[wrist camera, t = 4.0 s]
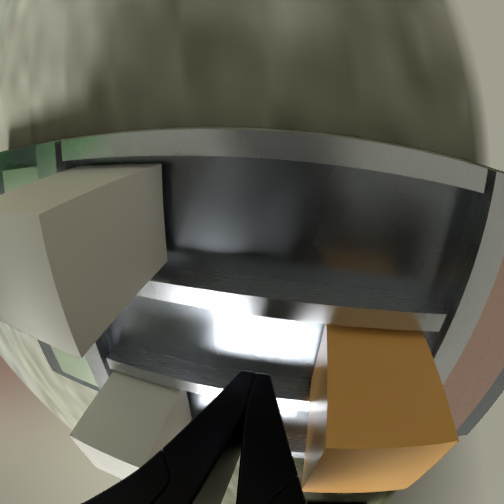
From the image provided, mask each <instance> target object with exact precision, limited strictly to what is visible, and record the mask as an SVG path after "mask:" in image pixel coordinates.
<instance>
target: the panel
mask: <svg viewBox="0 0 504 504" xmlns="http://www.w3.org/2000/svg"><path fill="white" fill-rule="evenodd" d="M113 164H162V190H163V209H164V224H165V237H166V249H167V260H168V261H167V262H166V263H165V264H164V266H163V267H162V268H161V269H160V270H159V271H158V272H157V273H156V274H155V275H154V276H153V277H152V278H151V280H150V281H149V282H148V283H147V284H146V285H145V286H144V287H143V288H142V289H141V290H140V292H139V293H138V294H137V295H136V296H135V297H134V298H133V299H132V300H131V302H130V303H129V304H128V305H127V306H126V307H125V308H124V309H123V311H122V312H121V313H120V314H119V315H118V316H117V317H116V319H115V320H114V321H113V322H112V323H111V324H110V325H109V327H108V328H107V329H106V330H105V331H104V332H103V334H102V335H101V336H100V337H99V338H98V339H97V341H96V342H95V343H94V344H93V345H92V347H91V348H90V349H89V350H88V351H87V353H86V354H85V355H84V356H83V357H82V358H79V357H77V356H74V355H72V354H69V353H67V352H65V351H62V350H60V349H58V348H55V347H53V346H51V345H49V344H47V343H44V342H42V341H40V340H38V339H37V340H38V342H39V344H40V346H41V348H42V350H43V352H44V355H45V357H46V359H47V361H48V363H49V365H50V366H51V368H52V370H53V371H55V372H57V373H59V374H61V375H63V376H65V377H67V378H69V379H71V380H74V381H76V382H78V383H80V384H83V385H85V386H87V387H90V388H92V389H94V390H97V391H100V390H101V388H102V387H103V385H104V384H105V382H106V381H107V379H108V378H109V377H110V375H111V374H112V372H113V371H114V370H116V371H119V372H122V373H125V374H128V375H131V376H135V377H138V378H141V379H144V380H148V381H151V382H155V383H158V384H162V385H165V386H169V387H173V388H177V389H181V390H185V391H186V392H187V397H188V402H189V407H190V412H191V416H192V419H191V421H192V420H193V419H194V418H195V417H196V416H197V415H198V414H199V413H200V412H201V411H202V410H203V409H204V408H205V407H206V406H207V405H208V404H209V403H210V402H211V401H212V400H213V399H214V398H215V397H216V396H217V395H218V394H219V393H220V392H221V391H222V390H223V389H224V388H225V387H226V386H227V385H228V384H229V383H230V382H231V381H232V380H233V379H234V378H235V376H236V375H237V374H238V373H239V372H240V371H242V370H245V371H251V372H255V373H265V374H269V375H270V376H271V380H272V384H273V387H274V391H275V395H276V398H277V402H278V406H279V409H280V413H281V417H282V420H283V424H284V428H285V431H286V435H287V438H288V442H289V446H290V449H291V453H292V456H293V457H295V458H305V450H306V439H307V428H308V416H309V403H310V387H311V379H312V375H313V371H314V367H315V363H316V359H317V355H318V351H319V347H320V343H321V339H322V334H323V330H324V325H325V324H331V325H342V326H353V327H365V328H379V329H394V330H412V331H423V333H424V336H425V338H426V341H427V343H428V346H429V349H430V351H431V354H432V356H433V359H434V362H435V365H436V367H437V370H438V373H439V376H440V379H441V382H442V385H443V388H444V391H445V394H446V397H447V400H448V404H449V407H450V410H451V414H452V417H453V421H454V424H455V428H456V432H457V436H461V435H466V434H468V433H469V432H470V431H471V430H472V429H473V427H474V426H475V425H476V424H477V423H478V422H479V421H480V419H481V418H482V417H483V416H484V415H485V413H486V412H487V411H488V410H489V409H490V407H491V406H492V405H493V404H494V402H495V401H496V400H497V398H498V397H499V396H500V394H501V393H502V392H503V390H504V172H502V171H499V170H496V169H493V168H490V167H487V166H484V165H481V164H477V163H474V162H470V161H467V160H463V159H460V158H456V157H452V156H448V155H445V154H441V153H436V152H432V151H428V150H424V149H419V148H414V147H410V146H405V145H400V144H395V143H389V142H384V141H378V140H372V139H366V138H359V137H352V136H345V135H337V134H329V133H320V132H311V131H300V130H288V129H273V128H253V127H173V128H154V129H139V130H127V131H117V132H107V133H99V134H91V135H84V136H77V137H70V138H64V139H58V140H52V141H47V142H42V143H37V144H32V145H27V146H23V147H18V148H14V149H10V150H6V151H2V152H0V195H1V194H4V193H6V192H8V191H11V190H13V189H16V188H18V187H21V186H23V185H26V184H28V183H31V182H34V181H36V180H39V179H42V178H45V177H48V176H50V175H53V174H56V173H59V172H62V171H65V170H68V169H71V168H74V167H78V166H91V165H113ZM191 421H190V422H191Z"/></svg>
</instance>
